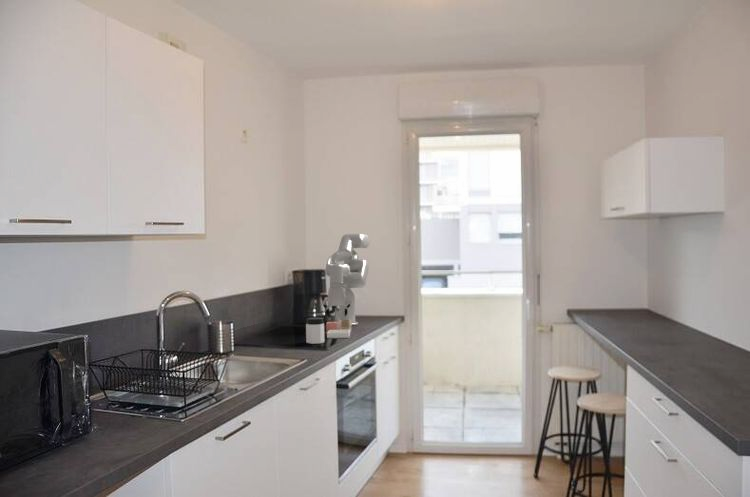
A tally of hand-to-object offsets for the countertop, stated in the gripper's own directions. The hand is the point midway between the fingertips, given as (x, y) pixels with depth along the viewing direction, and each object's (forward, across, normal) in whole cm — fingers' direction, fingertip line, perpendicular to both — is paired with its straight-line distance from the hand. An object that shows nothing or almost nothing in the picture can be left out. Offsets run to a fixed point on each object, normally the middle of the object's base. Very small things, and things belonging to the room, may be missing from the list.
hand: (337, 316), depth 340 cm
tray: (+8, -3, +25) cm, 27 cm away
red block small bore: (+8, +1, +14) cm, 16 cm away
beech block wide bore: (+8, -5, +7) cm, 12 cm away
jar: (+9, +7, +43) cm, 45 cm away
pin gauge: (+8, 0, -1) cm, 8 cm away
